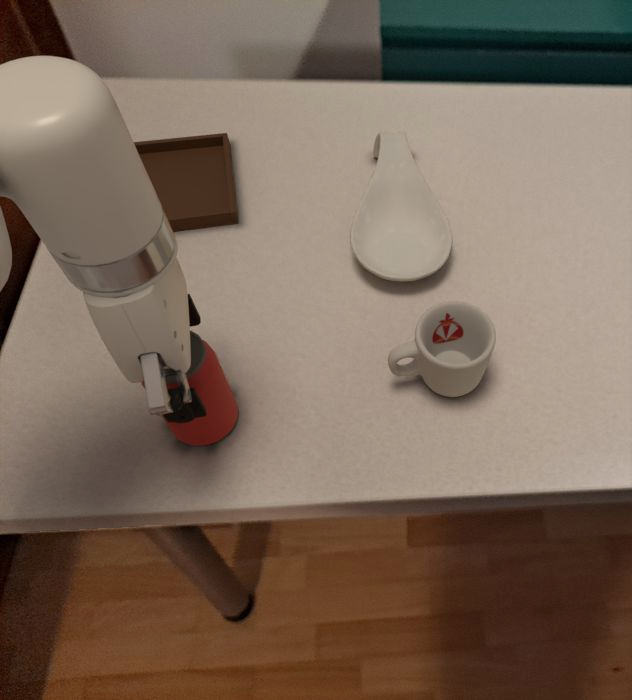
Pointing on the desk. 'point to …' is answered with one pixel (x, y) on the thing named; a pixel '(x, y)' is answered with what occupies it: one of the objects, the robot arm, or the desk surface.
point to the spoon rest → (399, 217)
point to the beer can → (205, 397)
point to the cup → (448, 348)
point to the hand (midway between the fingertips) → (185, 368)
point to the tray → (192, 179)
